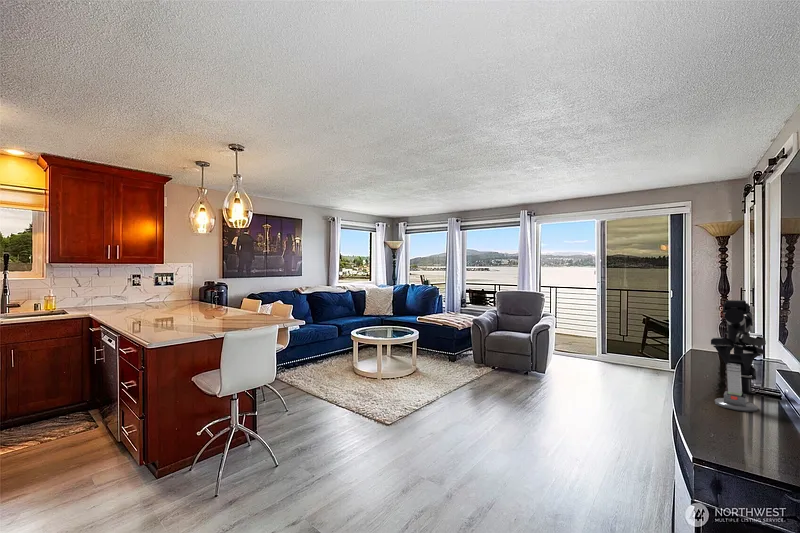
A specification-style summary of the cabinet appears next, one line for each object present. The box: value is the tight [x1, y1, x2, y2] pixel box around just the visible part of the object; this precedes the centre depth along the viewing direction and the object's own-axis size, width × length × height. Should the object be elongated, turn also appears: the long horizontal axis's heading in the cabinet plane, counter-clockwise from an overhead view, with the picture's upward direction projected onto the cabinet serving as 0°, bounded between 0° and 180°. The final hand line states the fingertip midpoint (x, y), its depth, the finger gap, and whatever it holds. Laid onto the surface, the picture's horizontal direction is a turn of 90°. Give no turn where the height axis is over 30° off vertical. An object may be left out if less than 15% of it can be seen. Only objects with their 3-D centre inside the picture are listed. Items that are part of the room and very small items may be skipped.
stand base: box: [714, 390, 759, 413], centre depth 138 cm, size 12×12×4 cm
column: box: [726, 363, 742, 397], centre depth 139 cm, size 4×4×12 cm
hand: (737, 367), depth 146 cm, fingers open, 9 cm apart
